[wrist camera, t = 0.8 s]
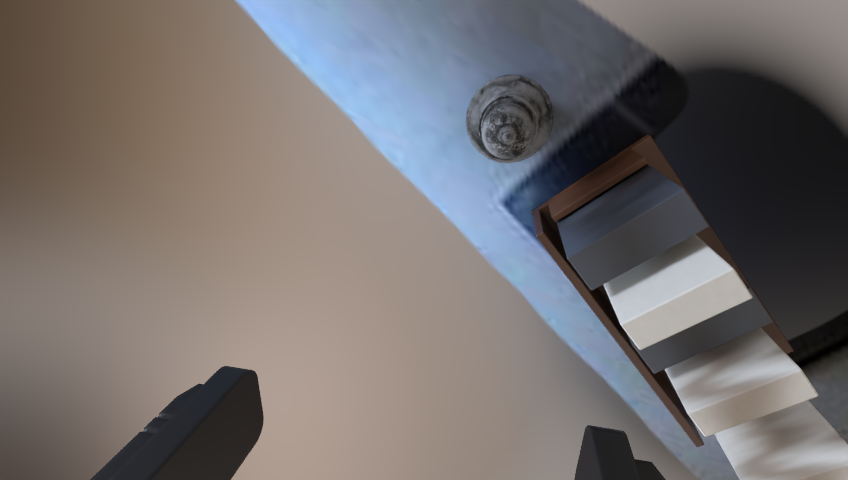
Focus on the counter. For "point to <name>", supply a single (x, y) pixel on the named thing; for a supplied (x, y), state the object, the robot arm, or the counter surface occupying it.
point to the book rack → (699, 344)
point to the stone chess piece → (509, 118)
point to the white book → (674, 292)
